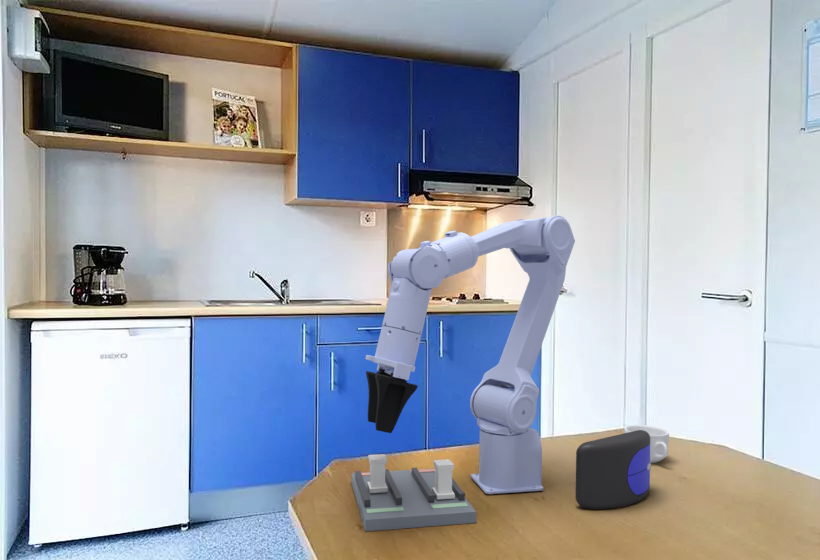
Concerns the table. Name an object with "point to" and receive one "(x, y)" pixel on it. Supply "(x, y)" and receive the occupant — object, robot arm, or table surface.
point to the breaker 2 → (443, 479)
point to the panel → (409, 502)
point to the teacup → (653, 440)
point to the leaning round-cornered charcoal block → (613, 470)
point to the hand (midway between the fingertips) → (378, 427)
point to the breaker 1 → (377, 473)
